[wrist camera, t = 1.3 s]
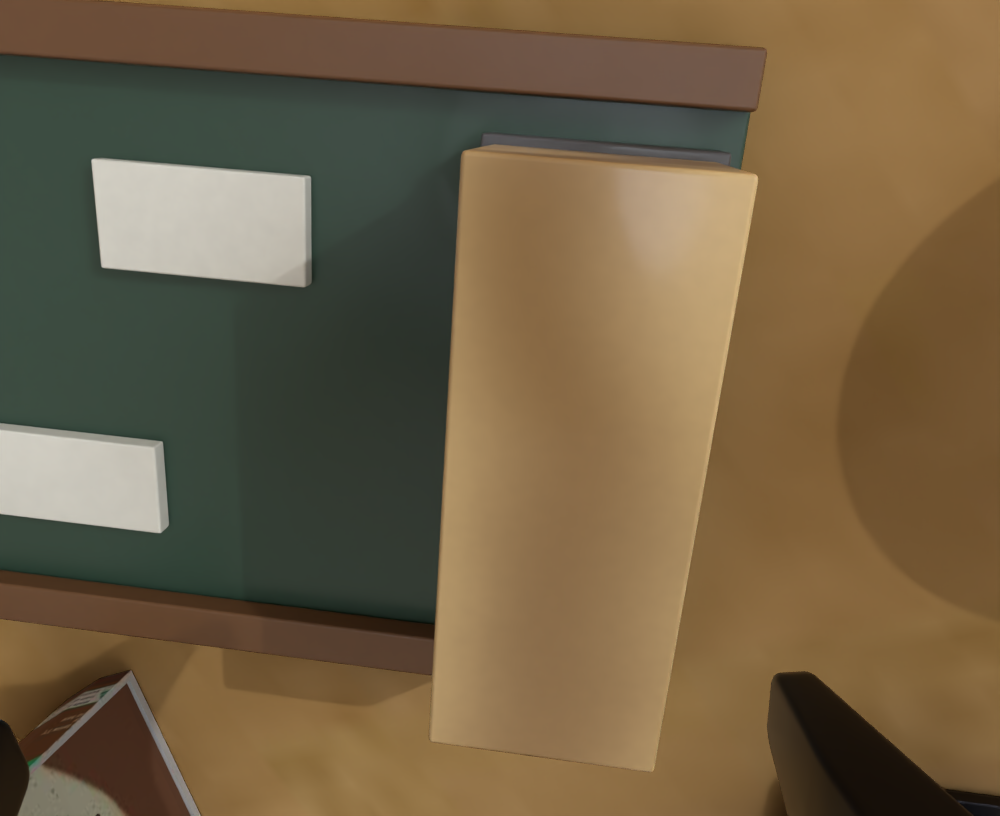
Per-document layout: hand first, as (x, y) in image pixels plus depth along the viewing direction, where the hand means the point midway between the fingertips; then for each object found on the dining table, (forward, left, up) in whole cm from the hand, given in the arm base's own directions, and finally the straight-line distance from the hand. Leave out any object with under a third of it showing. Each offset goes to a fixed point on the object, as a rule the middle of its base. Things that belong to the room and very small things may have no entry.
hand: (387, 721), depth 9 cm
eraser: (-2, 0, -11) cm, 11 cm away
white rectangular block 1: (+11, +3, -11) cm, 16 cm away
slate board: (+6, 0, -12) cm, 13 cm away
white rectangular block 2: (+7, -4, -11) cm, 14 cm away
